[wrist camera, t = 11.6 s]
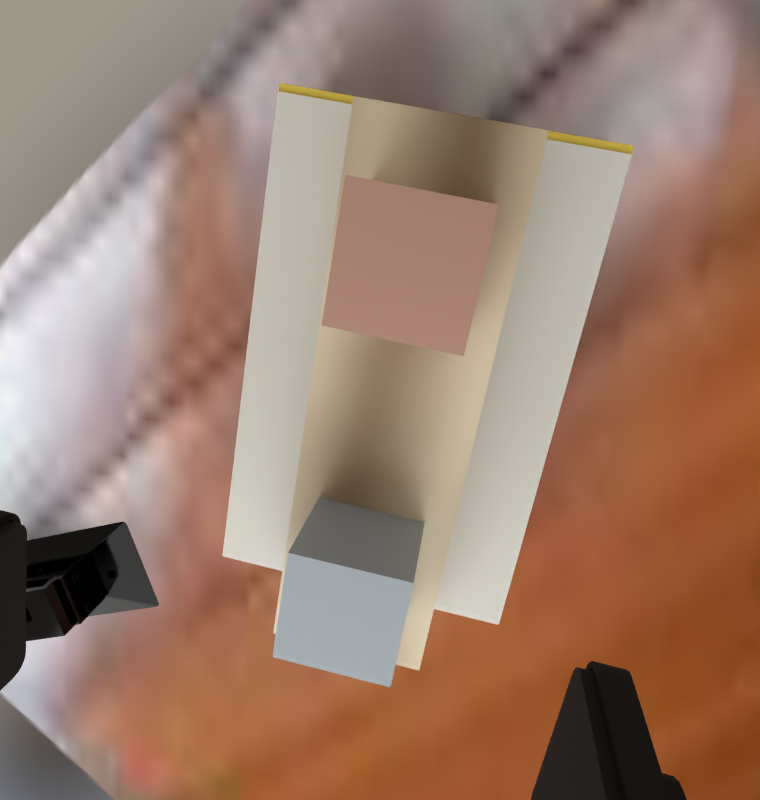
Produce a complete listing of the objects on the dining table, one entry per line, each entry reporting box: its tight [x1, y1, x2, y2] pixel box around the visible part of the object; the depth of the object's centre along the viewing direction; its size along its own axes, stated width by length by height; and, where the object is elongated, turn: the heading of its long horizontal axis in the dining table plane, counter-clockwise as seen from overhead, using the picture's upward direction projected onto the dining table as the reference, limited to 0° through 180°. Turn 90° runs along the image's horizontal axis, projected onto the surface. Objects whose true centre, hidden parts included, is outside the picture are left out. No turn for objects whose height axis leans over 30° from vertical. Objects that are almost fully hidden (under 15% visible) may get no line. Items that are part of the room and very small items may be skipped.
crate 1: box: [321, 175, 499, 356], centre depth 19 cm, size 4×4×4 cm
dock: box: [223, 83, 634, 625], centre depth 29 cm, size 13×20×5 cm, turn 170°
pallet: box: [273, 96, 549, 670], centre depth 24 cm, size 6×20×4 cm, turn 170°
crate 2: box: [273, 498, 425, 687], centre depth 22 cm, size 4×4×4 cm
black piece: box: [26, 522, 159, 641], centre depth 36 cm, size 12×7×5 cm, turn 105°
